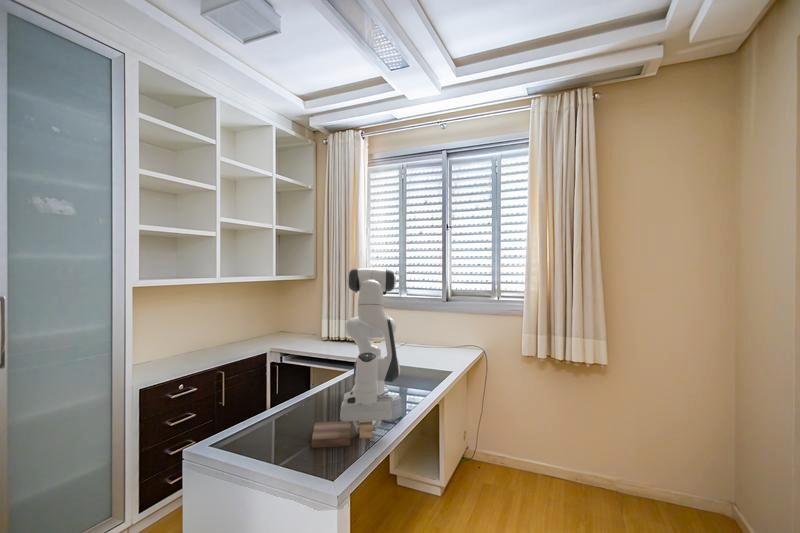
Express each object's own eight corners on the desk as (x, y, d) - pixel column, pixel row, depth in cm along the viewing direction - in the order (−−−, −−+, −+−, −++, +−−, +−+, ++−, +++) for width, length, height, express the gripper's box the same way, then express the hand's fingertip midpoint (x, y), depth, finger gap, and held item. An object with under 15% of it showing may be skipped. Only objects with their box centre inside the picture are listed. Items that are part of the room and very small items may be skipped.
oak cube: (359, 432, 148) (359, 419, 148) (371, 431, 149) (372, 419, 149) (359, 438, 143) (359, 425, 143) (372, 437, 144) (372, 425, 144)
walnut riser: (315, 430, 149) (315, 422, 149) (350, 428, 151) (350, 421, 151) (311, 447, 135) (311, 439, 135) (350, 445, 137) (350, 437, 137)
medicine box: (394, 414, 166) (394, 394, 166) (402, 417, 163) (402, 397, 163) (382, 419, 160) (382, 399, 160) (390, 422, 157) (390, 402, 157)
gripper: (392, 392, 150) (391, 426, 150) (340, 393, 147) (340, 428, 148) (393, 398, 144) (393, 433, 144) (340, 399, 141) (339, 435, 141)
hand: (365, 430), depth 146 cm, fingers closed on oak cube, 5 cm apart
